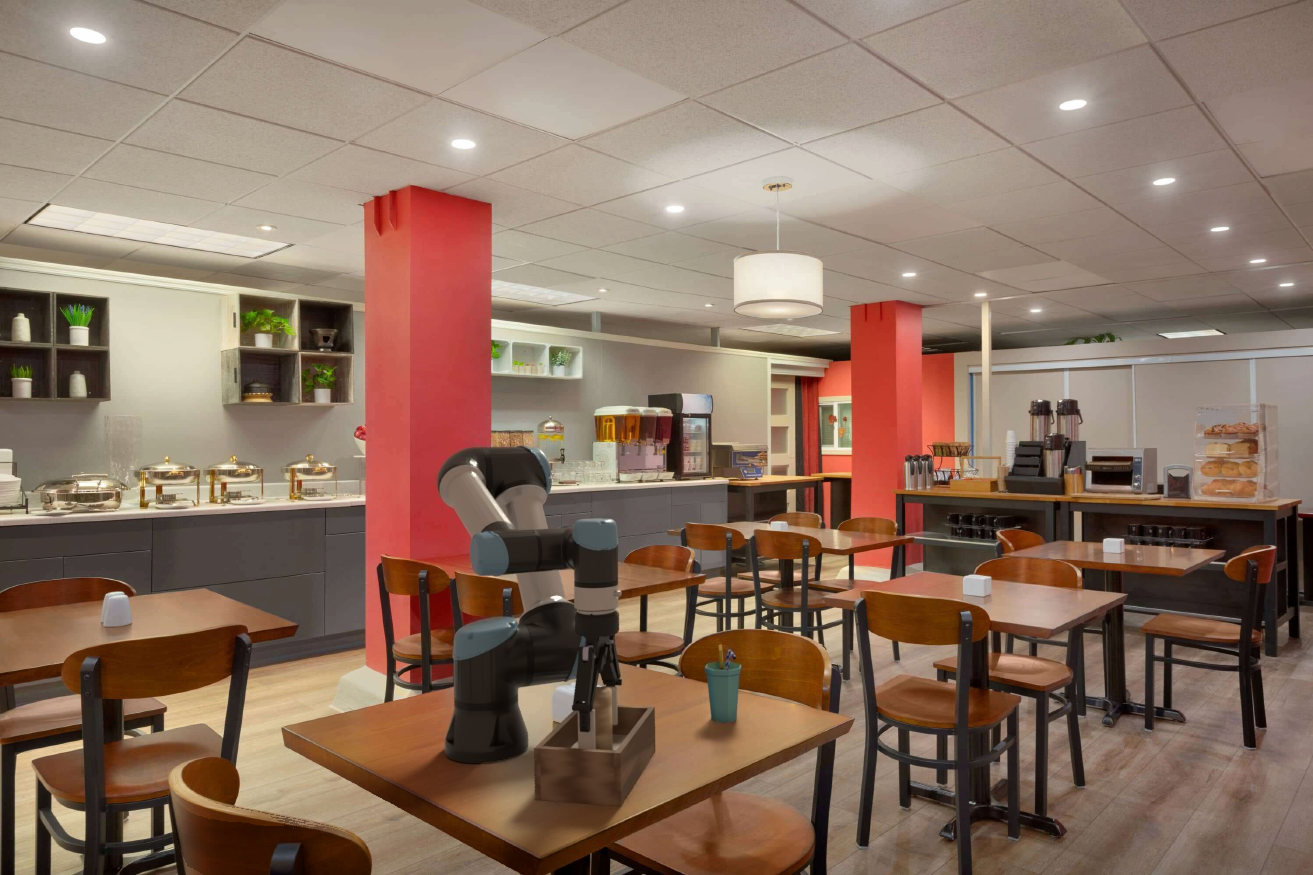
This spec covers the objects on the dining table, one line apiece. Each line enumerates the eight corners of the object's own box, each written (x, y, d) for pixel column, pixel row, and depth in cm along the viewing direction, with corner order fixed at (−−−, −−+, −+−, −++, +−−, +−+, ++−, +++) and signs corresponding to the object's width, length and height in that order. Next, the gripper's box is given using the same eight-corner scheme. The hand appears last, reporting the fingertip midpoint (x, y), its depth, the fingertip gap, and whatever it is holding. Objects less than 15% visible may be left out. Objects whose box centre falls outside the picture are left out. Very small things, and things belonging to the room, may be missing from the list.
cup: (754, 728, 161) (753, 651, 162) (716, 732, 160) (715, 654, 160) (733, 708, 175) (731, 636, 175) (697, 711, 173) (696, 639, 174)
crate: (534, 799, 129) (534, 747, 130) (581, 746, 153) (581, 703, 153) (621, 805, 126) (620, 753, 127) (655, 751, 150) (654, 706, 150)
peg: (582, 777, 138) (581, 693, 138) (590, 768, 142) (589, 686, 143) (608, 779, 137) (607, 694, 137) (616, 769, 141) (614, 687, 142)
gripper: (597, 625, 127) (599, 764, 127) (636, 598, 152) (638, 714, 151) (550, 624, 129) (552, 761, 128) (596, 597, 153) (598, 713, 153)
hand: (599, 736), depth 140 cm, fingers open, 13 cm apart
